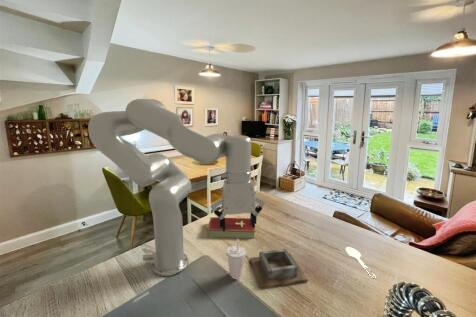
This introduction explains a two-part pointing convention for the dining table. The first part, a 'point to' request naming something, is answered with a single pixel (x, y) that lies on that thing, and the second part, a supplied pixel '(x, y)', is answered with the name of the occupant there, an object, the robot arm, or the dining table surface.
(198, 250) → the dining table surface
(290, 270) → the holder
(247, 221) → the hardcover book
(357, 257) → the spoon
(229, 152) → the robot arm
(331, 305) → the dining table surface
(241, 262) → the smoothie
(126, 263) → the dining table surface
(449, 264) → the dining table surface
